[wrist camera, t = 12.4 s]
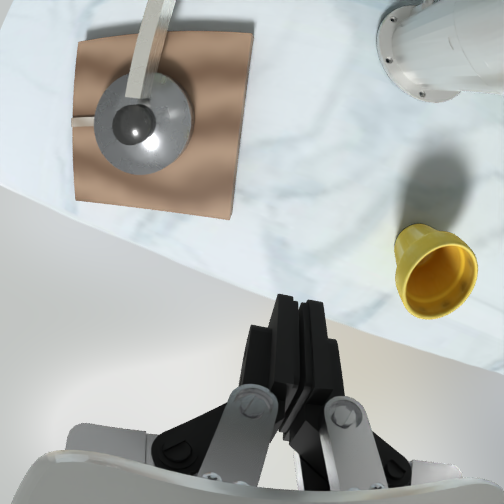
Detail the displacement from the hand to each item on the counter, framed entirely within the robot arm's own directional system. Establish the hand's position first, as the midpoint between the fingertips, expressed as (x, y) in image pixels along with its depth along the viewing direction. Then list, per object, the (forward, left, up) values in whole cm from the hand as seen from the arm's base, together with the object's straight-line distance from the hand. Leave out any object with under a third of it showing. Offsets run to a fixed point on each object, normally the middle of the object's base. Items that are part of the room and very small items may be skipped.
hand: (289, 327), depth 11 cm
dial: (-9, -16, -25) cm, 31 cm away
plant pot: (+7, +19, -27) cm, 34 cm away
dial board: (-4, -17, -27) cm, 32 cm away
